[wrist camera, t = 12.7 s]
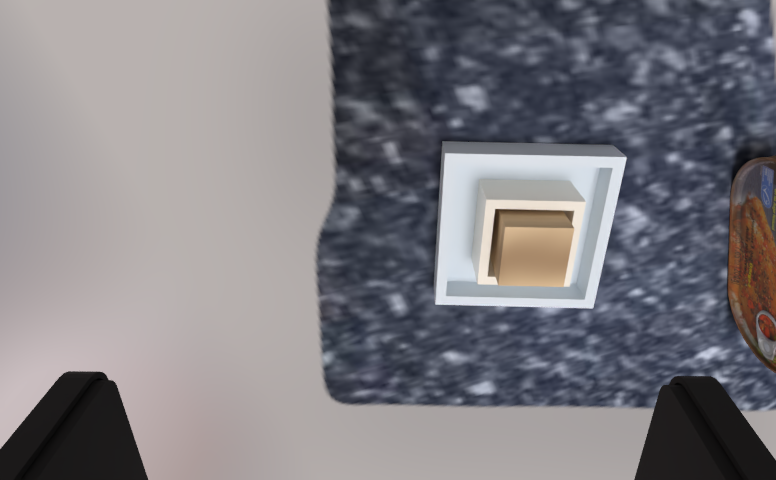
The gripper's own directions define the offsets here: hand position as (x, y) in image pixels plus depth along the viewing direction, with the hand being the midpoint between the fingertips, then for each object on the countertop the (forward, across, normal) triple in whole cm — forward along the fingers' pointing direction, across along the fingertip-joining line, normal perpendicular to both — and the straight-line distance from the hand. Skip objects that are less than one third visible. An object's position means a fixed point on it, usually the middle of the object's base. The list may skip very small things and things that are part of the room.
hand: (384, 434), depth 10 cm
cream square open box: (+27, -8, +9) cm, 29 cm away
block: (+26, -8, +9) cm, 29 cm away
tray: (+27, -8, +9) cm, 30 cm away
